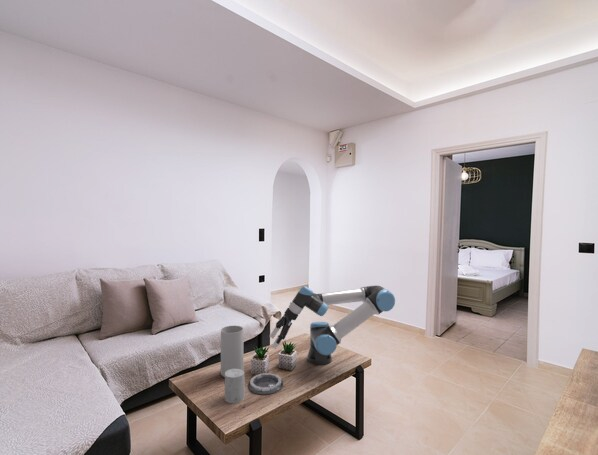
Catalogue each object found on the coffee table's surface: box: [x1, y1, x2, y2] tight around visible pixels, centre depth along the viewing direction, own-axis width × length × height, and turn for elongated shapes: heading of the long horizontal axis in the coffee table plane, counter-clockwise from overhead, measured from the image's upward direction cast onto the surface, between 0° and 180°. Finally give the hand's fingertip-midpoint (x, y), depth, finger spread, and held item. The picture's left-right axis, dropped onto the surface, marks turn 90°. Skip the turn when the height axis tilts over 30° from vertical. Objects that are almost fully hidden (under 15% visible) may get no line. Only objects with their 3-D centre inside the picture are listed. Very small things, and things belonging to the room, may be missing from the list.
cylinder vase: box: [220, 325, 244, 378], centre depth 178 cm, size 12×12×25 cm
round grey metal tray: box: [248, 372, 284, 396], centre depth 165 cm, size 18×18×2 cm
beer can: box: [224, 368, 246, 404], centre depth 154 cm, size 10×10×12 cm
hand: (272, 342), depth 179 cm, fingers open, 13 cm apart
